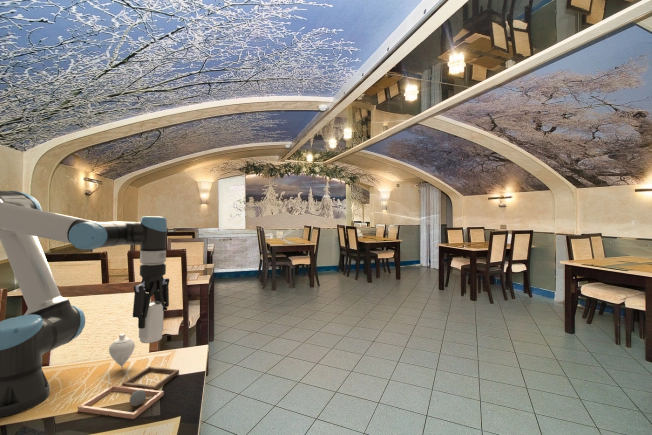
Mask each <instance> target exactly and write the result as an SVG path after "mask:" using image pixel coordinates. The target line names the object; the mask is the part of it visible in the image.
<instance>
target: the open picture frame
mask: <svg viewBox="0 0 652 435" xmlns="http://www.w3.org/2000/svg"><path fill="white" fill-rule="evenodd" d="M137 390H143V391H144V392H145V393H146V396H153V397H151V398H150V399H149V400H148V401H146V402H145V403H143V404H141V405H142V406H141V405H140V407H139V408H137V409H136V410H135V411H125V410H119V409H111V408H106V407H105V408H104V407H99V406H98V407H97V406H91V405H93V404H94V403H96V402H98V401H99V400H100V399H102V398H104V397H106V396H107V395H108V394H111V393H112V392H122V393H129V394H130V393H131V394H132V393H133V392H135V391H137ZM164 394H165V392H164V391H163V390H159V389H158V390H149V389H141V388H133V387H124V386H122V385H114V384H112V385H111V386H109V387H108V388H106V389H104V390H103V391H101V392H99V393H98V394H96V395H95V396H93V397H92V398H90V399H88V400H86V401H84V402H83V403H81V404H80V405H78V406H77V412H81V413H88V414H96V415H101V414H102V415H101V416H108V415H109V416H110V417H115V418H116V417H117V418H124V419H131V420H135V419H136V418H137V417H138V416H139V415H141V414H142V413H144V412H145V411H146V410H147V409H148V408H149V407H151V406H152V405H153V404H154V403H156V402H157V401H159V399H161V398H162V397H164ZM109 416H108V417H109Z"/></svg>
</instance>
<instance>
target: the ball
mask: <svg viewBox="0 0 652 435" xmlns="http://www.w3.org/2000/svg"><path fill="white" fill-rule="evenodd" d="M146 399H147V395H146V393H145V392H144V391H143V390H137V391H135V392H133V393H131V395H130V397H129V402H130V405H131V406H133V407H139V406H141V405H143V404H144V402H145V401H146Z"/></svg>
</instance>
